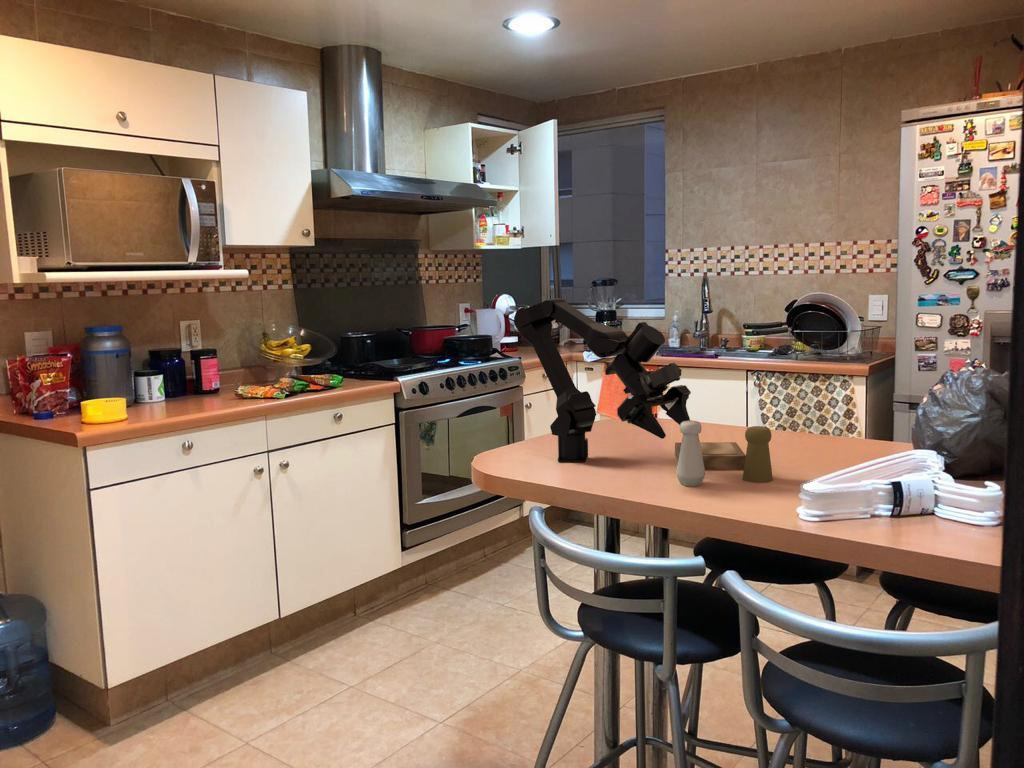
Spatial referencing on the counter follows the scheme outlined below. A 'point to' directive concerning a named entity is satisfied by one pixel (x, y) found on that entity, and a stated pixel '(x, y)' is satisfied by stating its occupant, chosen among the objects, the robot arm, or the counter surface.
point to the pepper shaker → (758, 455)
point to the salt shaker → (690, 455)
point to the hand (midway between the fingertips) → (678, 433)
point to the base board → (719, 455)
